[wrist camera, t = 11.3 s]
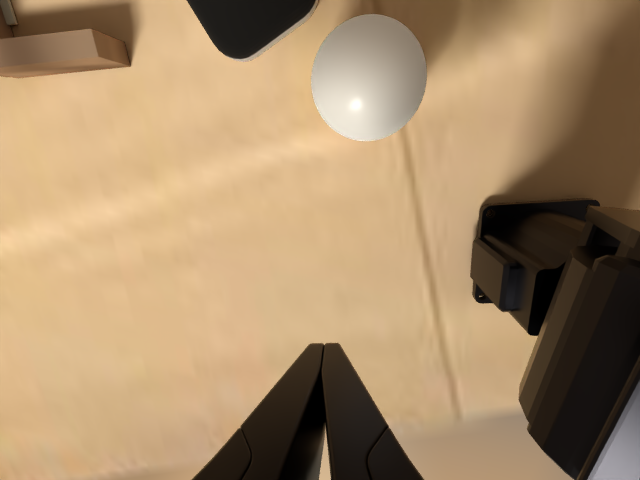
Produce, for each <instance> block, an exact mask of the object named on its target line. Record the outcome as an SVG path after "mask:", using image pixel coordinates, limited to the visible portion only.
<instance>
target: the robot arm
mask: <svg viewBox="0 0 640 480" xmlns="http://www.w3.org/2000/svg"><path fill="white" fill-rule="evenodd" d="M589 204H590V206H589V207H588V210H586V207H587V206H588V205H589ZM489 210H492V214H491V215H490V216H487V215H486V214H487V212H488V211H489ZM470 277H471V278H472V279H473V280H474V281H473V293H472V294H473V297H474V299H475V300H476V301H477V302H478V303H494V304H495V305H496V307H497V308H498V309H499V310H501V311H502V312H509V313H510V314H511V315H512V316H513V317H514V318H515V320H516V321H517V322H518V323H519V324H520V325H521V326H522V327H523V328H524V329H525V330H526V331H527V333H528V334H530V335H532V336H538V338H537V341H536V343H535V346H534V349H533V351H532V354H531V357H530V359H529V362H528V365H527V367H526V370H525V373H524V375H523V378H522V381H521V383H520V388H519V402H520V404H521V407H522V409H523V411H524V414H525V416H526V418H527V420H528V422H529V424H528V426H527V430H528V432H529V434H530V435H531V436H532V437H533V439H534V440H535V441H536V442H537V444H538V445H539V446H540V448H541V449H542V450H543V451H544V452H545V453H546V454H547V456H549V457H550V458H551V459H552V460H553V461H554V462H555V463H556V464H557V465H558V466H559V467H560V468H561V469H562V470H563V471H564V472H565V473H566V474H568V475H569V476H570V477H571V478H573V479H574V480H640V211H639V210H629V209H619V208H609V207H600V204H599V202H598V201H596V200H593V199H589V198H584V199H567V200H549V201H532V202H515V203H498V204H487V205H484V206H483V207H482V208H481V209H480V212H479V223H478V235H477V238H476V239H475V240H474V241H473V249H472V261H471V273H470ZM481 293H484V295H483V296H482V297H479V295H480V294H481ZM325 427H326V434H327V444H328V454H329V464H330V474H331V480H424V479H423V477H422V476H421V475H420V473H419V472H418V471H417V469H416V468H415V466H414V465H413V464H412V462H411V461H410V460H409V458H408V456H407V455H406V453H405V452H404V450H403V449H402V447H401V446H400V444H399V442H398V441H397V439H396V437H395V436H394V434H393V432H392V431H391V429H390V428H389V426H388V424H387V423H386V421H385V419H384V418H383V416H382V414H381V413H380V411H379V409H378V408H377V406H376V404H375V403H374V401H373V399H372V398H371V396H370V394H369V392H368V391H367V389H366V387H365V386H364V384H363V382H362V381H361V379H360V377H359V376H358V374H357V372H356V371H355V369H354V367H353V366H352V364H351V362H350V361H349V359H348V357H347V356H346V354H345V352H344V351H343V349H342V347H341V345H340V344H339V343H326V344H325V345H324V344H323V343H312V344H309V345H308V346H307V348H306V349H305V350H304V351H303V352H302V354H301V355H300V356H299V357H298V358H297V360H296V361H295V362H294V363H293V364H292V365H291V367H290V368H289V369H288V370H287V371H286V373H285V374H284V375H283V376H282V377H281V379H280V380H279V381H278V382H277V383H276V385H275V386H274V387H273V388H272V389H271V390H270V392H269V393H268V394H267V395H266V396H265V398H264V399H263V400H262V401H261V402H260V404H259V405H258V406H257V407H256V408H255V409H254V411H253V412H252V413H251V414H250V415H249V417H248V418H247V419H246V420H245V421H244V423H243V424H242V425H241V427H240V428H239V429H238V430H237V431H236V432H235V433H234V434H233V435H232V437H231V438H230V439H229V440H228V441H227V442H226V444H225V445H224V446H223V447H222V448H221V449H220V450H219V452H218V453H217V454H216V455H215V456H214V457H213V458H212V459H211V460H210V461H209V462H208V463H207V464H206V465H205V466H204V468H203V469H202V470H201V471H200V472H199V473H198V474H197V475H196V476H195V477H194V478H193V479H192V480H319V474H320V467H321V459H322V452H323V445H324V437H325Z"/></svg>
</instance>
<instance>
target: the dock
mask: <svg viewBox="0 0 640 480" xmlns="http://www.w3.org/2000/svg"><path fill="white" fill-rule="evenodd" d="M11 25H18V23H17V20H16V17H15V14H14V11H13V8H12V5H11V2H10V0H0V76H3V77H13V78H24V77H34V76H43V75H53V74H63V73H72V72H82V71H92V70H101V69H111V68H121V67H130V63H129V59H128V55H127V50H126V46H125V42H123V41H120V40H118V39H115V38H113V37H110V36H108V35H106V34H103V33H101V32H98V31H96V30H93V29H83V30H74V31H66V32H57V33H48V34H40V35H31V36H23V37H13V34H12V31H11V28H10V26H11Z"/></svg>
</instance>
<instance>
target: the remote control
mask: <svg viewBox="0 0 640 480" xmlns="http://www.w3.org/2000/svg"><path fill="white" fill-rule="evenodd" d="M187 1H188V3H189V5H190V6H191V8H192V10H193V11H194V13H195V14H196V16H197V18H198V19H199V21H200V23H201V24H202V26H203V27H204V29H205V31H206V32H207V34H208V36H209V37H210V39H211V40H212V42H213V43H214V45H215V46H216V47H217V48H218V50H219V51H220V52H222V53H223V54H224V55H226V56H227V57H229V58H231V59H233V60H236V61H242V62H246V61H251V60H253V59H255V58H257V57H258V56H260V55H261V54H262V53H264V52H265V51H266V50H268V49H269V48H271V47H272V46H273V45H275V44H276V43H277V42H279V41H280V40H281V39H283V38H284V37H285V36H287V35H288V34H290V33H291V32H292V31H294V30H295V29H296V28H298V27H299V26H300V25H302V24H303V23H304V22H306V21H307V20H308V19H309V18H310V17H311V16H312V14H313V12H314V11H315V9H316V6H317V3H318V0H187Z"/></svg>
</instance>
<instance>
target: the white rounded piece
mask: <svg viewBox="0 0 640 480" xmlns="http://www.w3.org/2000/svg"><path fill="white" fill-rule="evenodd" d="M426 80H427V67H426V61H425V56H424V53H423V50H422V48H421V46H420V43H419V42H418V40H417V38H416V37H415V35H414V34H413V33H412V32H411V31H410V30H409V29H408V28H407V27H406V26H405V25H404V24H402V23H401V22H399V21H398V20H396V19H393V18H391V17H388V16H385V15H379V14H365V15H360V16H356V17H353V18H351V19H349V20H347V21H345V22H343V23H342V24H340V25H339V26H337V27H336V28H335V29H334V30H333V31H332V32H331V33H330V34H329V35H328V36H327V37H326V39H325V40H324V41H323V43H322V45H321V46H320V48H319V50H318V52H317V54H316V57H315V60H314V64H313V68H312V76H311V87H312V95H313V98H314V102H315V105H316V107H317V110H318V111H319V113H320V115H321V117H322V118H323V119H324V121H325V122H326V123H327V124H328V125H329V126H330V127H331V128H332V129H333V130H334V131H336V132H337V133H339V134H340V135H342V136H344V137H347V138H349V139H353V140H358V141H373V140H379V139H382V138H385V137H387V136H390V135H392V134H393V133H395V132H397V131H398V130H399V129H401V128H402V127H403V126H404V125H405V124H406V123H407V122H408V121H409V120H410V119H411V118H412V116H413V115H414V114H415V112H416V111H417V109H418V107H419V105H420V103H421V101H422V98H423V95H424V92H425V87H426Z"/></svg>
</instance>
